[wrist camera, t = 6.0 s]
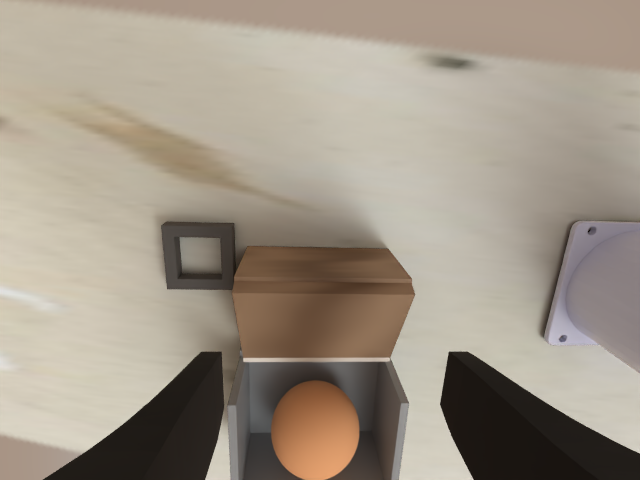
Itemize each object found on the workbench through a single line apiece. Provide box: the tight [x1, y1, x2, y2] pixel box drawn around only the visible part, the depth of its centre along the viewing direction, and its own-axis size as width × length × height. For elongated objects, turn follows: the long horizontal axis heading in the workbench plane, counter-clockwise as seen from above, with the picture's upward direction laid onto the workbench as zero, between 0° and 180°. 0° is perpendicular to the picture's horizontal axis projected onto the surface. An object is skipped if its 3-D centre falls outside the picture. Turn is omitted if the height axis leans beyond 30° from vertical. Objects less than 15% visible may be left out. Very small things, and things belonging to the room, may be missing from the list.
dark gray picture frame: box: [161, 222, 236, 290], centre depth 19 cm, size 4×4×1 cm
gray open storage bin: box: [227, 348, 409, 480], centre depth 20 cm, size 9×7×5 cm
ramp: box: [232, 246, 415, 362], centre depth 18 cm, size 8×6×5 cm
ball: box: [271, 380, 359, 480], centre depth 20 cm, size 5×5×5 cm
